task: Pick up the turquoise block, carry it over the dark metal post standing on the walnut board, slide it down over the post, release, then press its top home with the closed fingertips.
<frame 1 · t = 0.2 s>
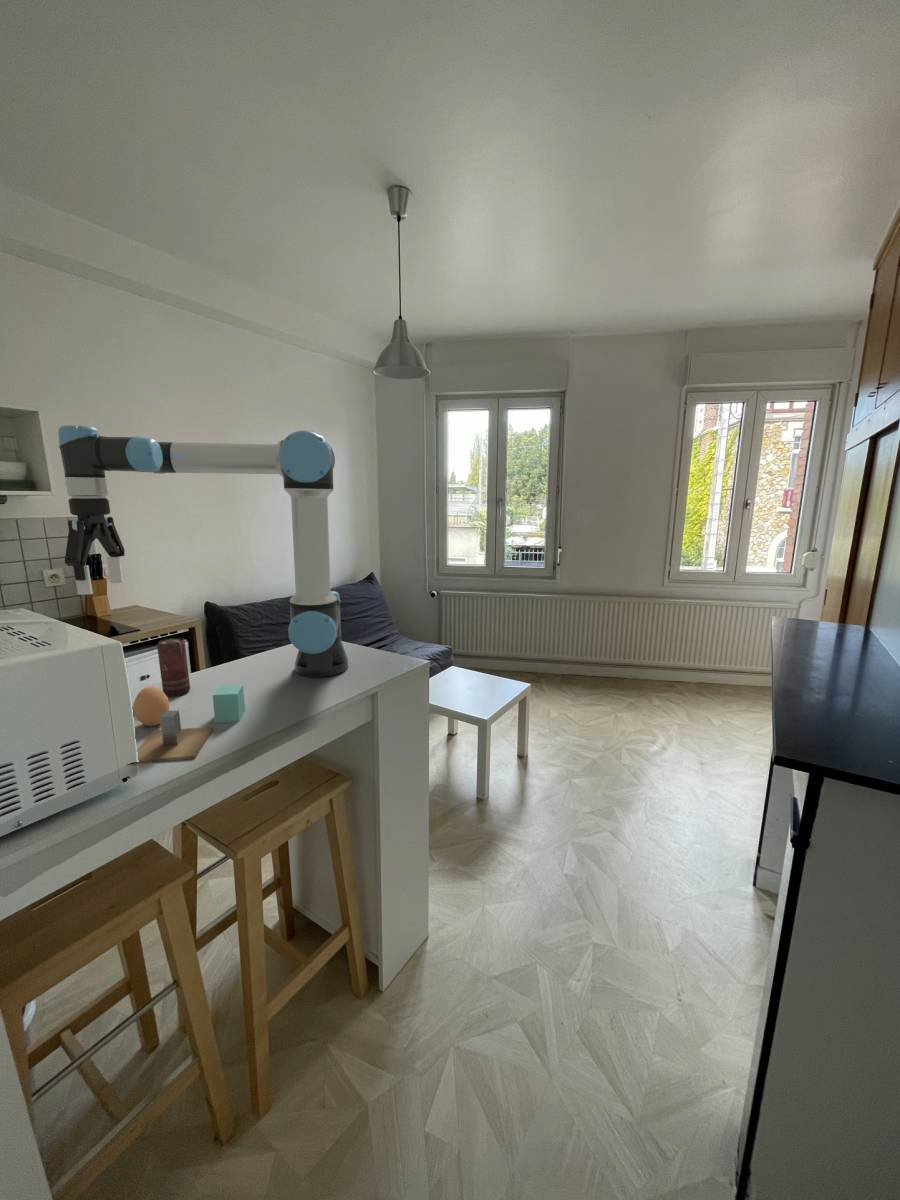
hand: (102, 588, 117), 28 cm above the countertop, fingers open, 13 cm apart
turquoise block: (230, 716, 113), on the countertop
post: (171, 728, 100), on the base board, point 4 cm above the countertop
can: (177, 693, 126), on the countertop
egg: (154, 725, 109), on the countertop
base board: (173, 745, 101), on the countertop
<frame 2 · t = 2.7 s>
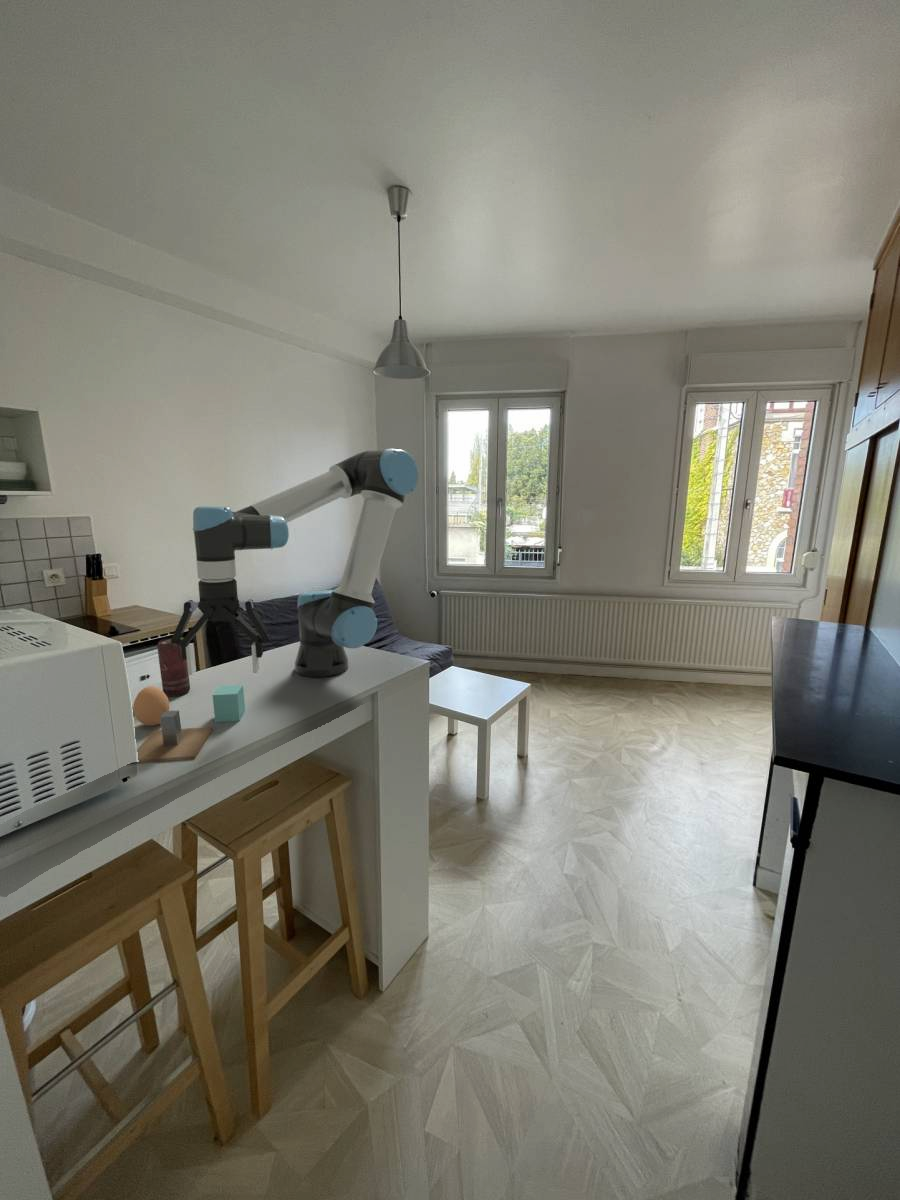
hand: (224, 672, 111), 11 cm above the countertop, fingers open, 13 cm apart
nothing on the countertop moved.
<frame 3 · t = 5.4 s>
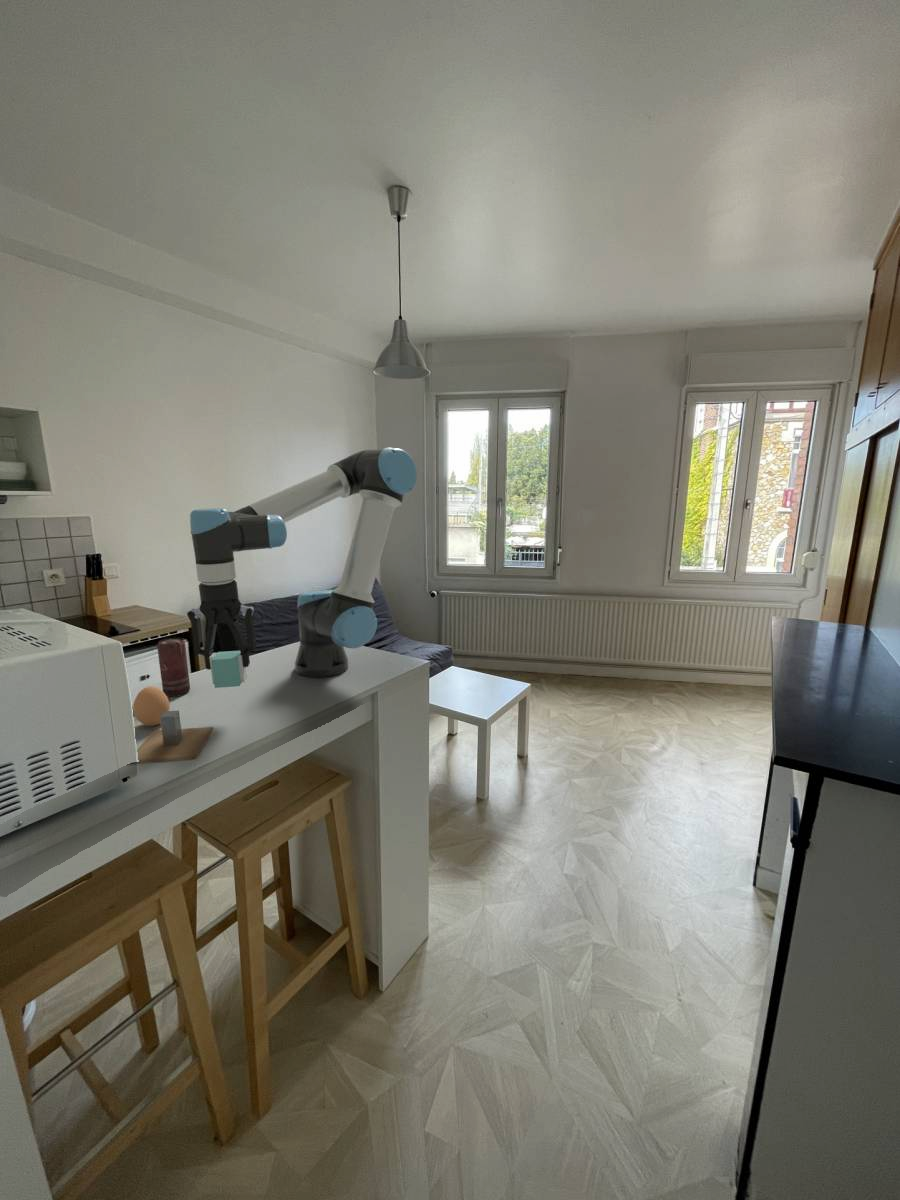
hand: (230, 680, 112), 9 cm above the countertop, fingers closed on turquoise block, 5 cm apart
turquoise block: (230, 682, 112), point 8 cm above the countertop, touching gripper
everything else where it was.
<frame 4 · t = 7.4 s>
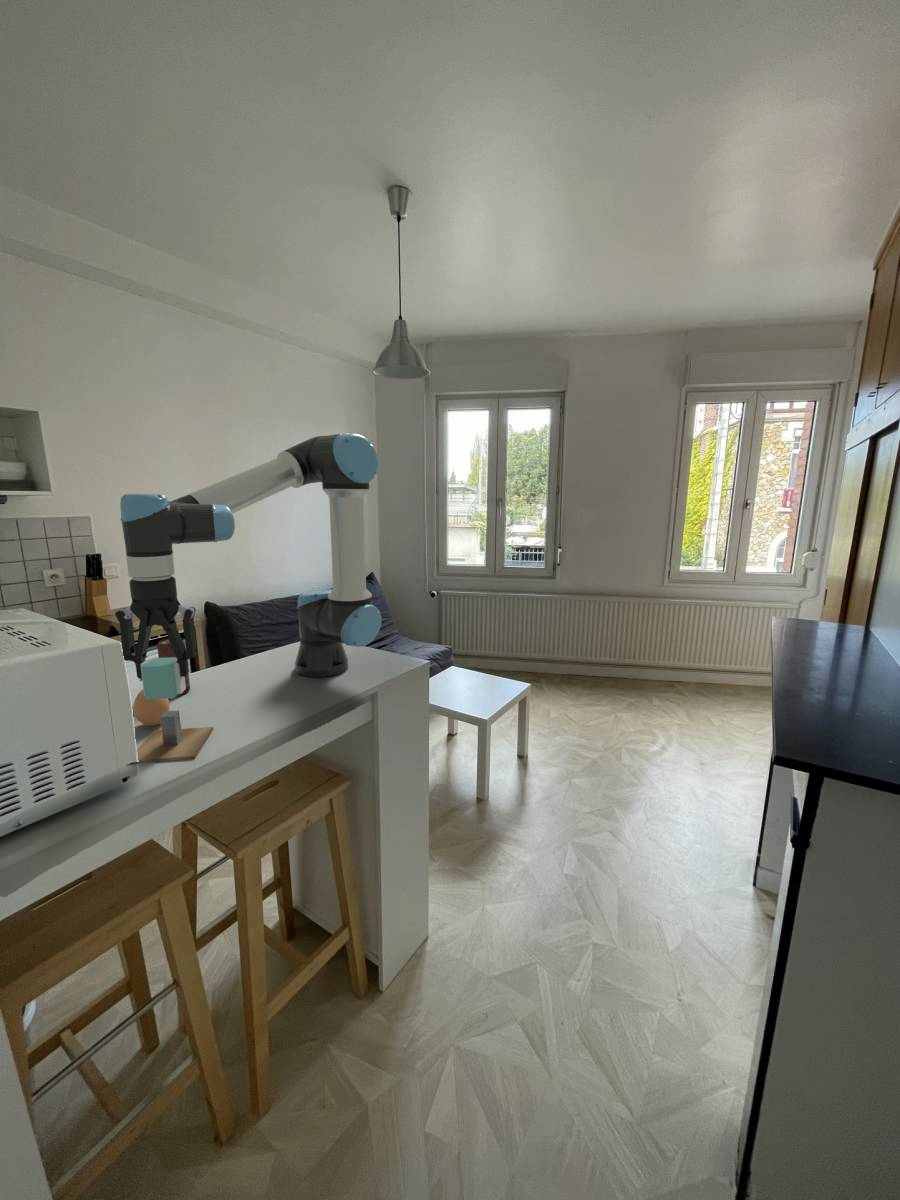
hand: (165, 691, 98), 12 cm above the countertop, fingers closed on turquoise block, 5 cm apart
turquoise block: (165, 693, 98), point 12 cm above the countertop, touching gripper
everything else where it was.
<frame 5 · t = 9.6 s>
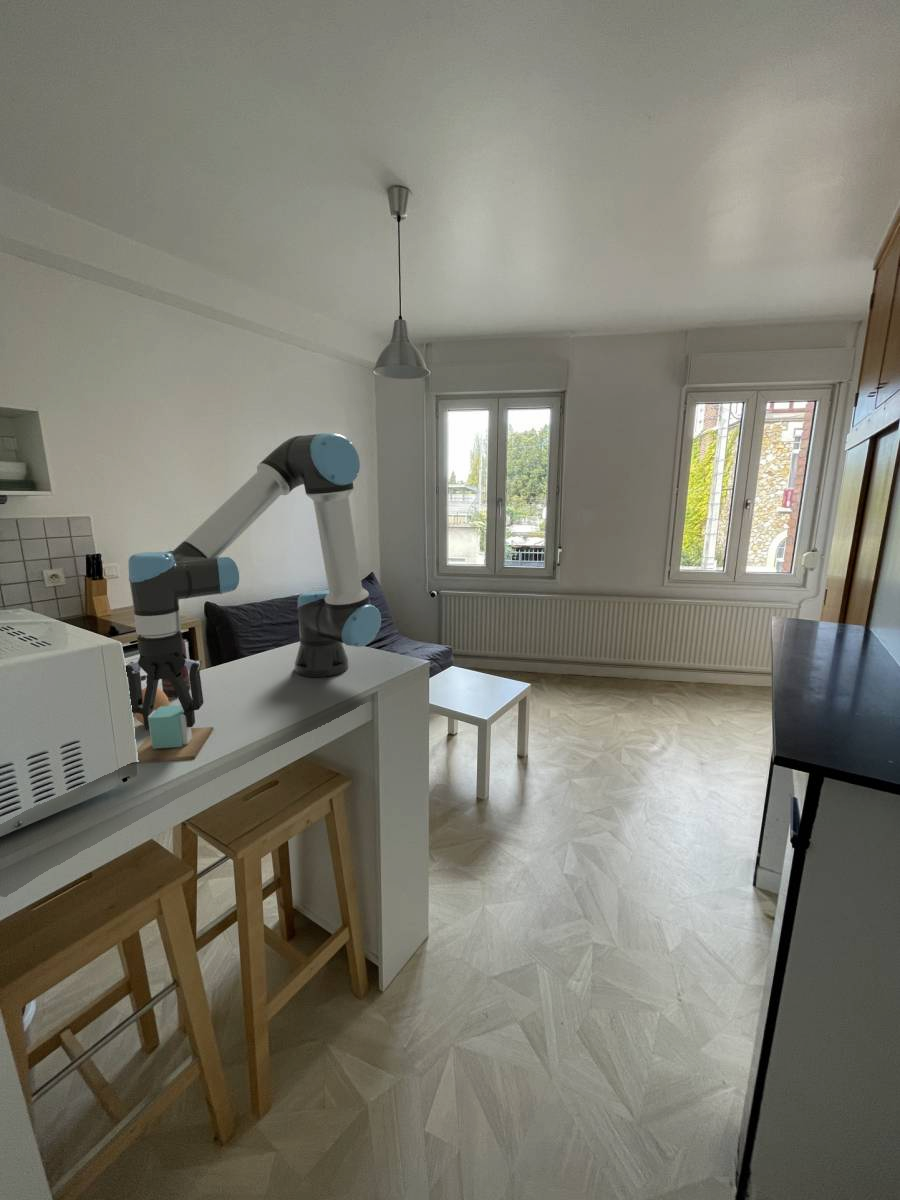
hand: (172, 741, 100), 1 cm above the countertop, fingers closed on turquoise block, 5 cm apart
turquoise block: (172, 741, 100), point 1 cm above the countertop, touching gripper
everything else where it was.
when the fingers open (1 cm above the countertop, at t = 9.7 s): turquoise block stays where it is, resting on post.
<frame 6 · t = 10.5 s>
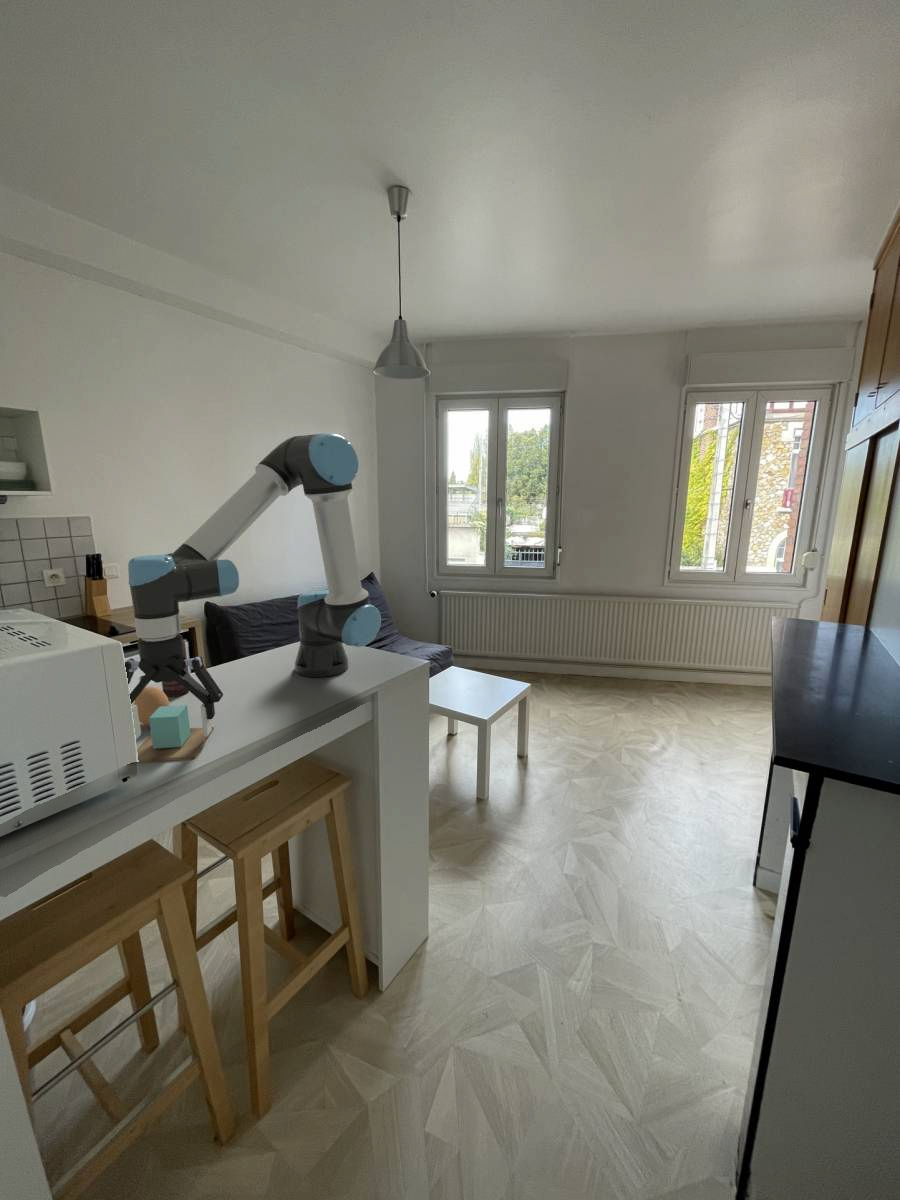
hand: (172, 735, 100), 2 cm above the countertop, fingers open, 13 cm apart
turquoise block: (172, 741, 100), point 1 cm above the countertop, touching post
everything else where it was.
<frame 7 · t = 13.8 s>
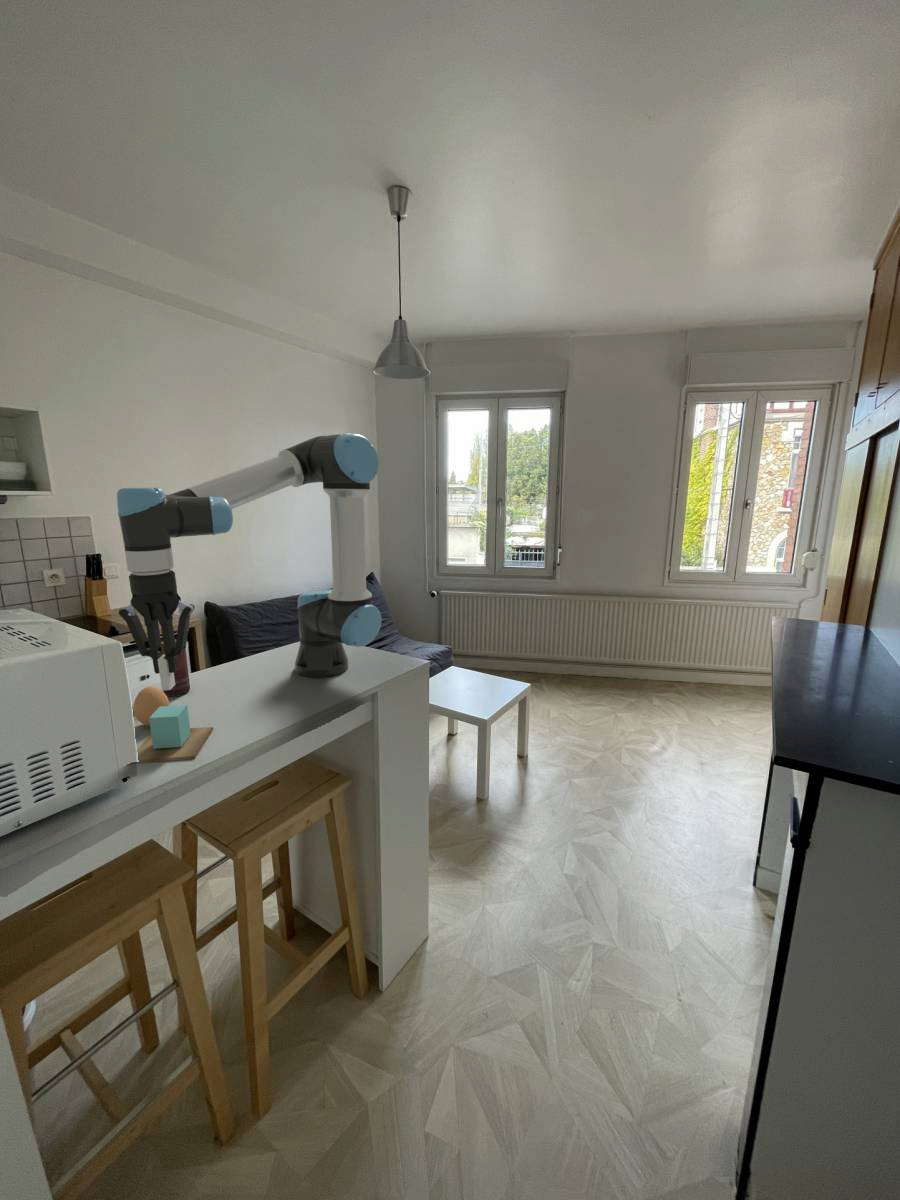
hand: (168, 687, 98), 13 cm above the countertop, fingers closed
nothing on the countertop moved.
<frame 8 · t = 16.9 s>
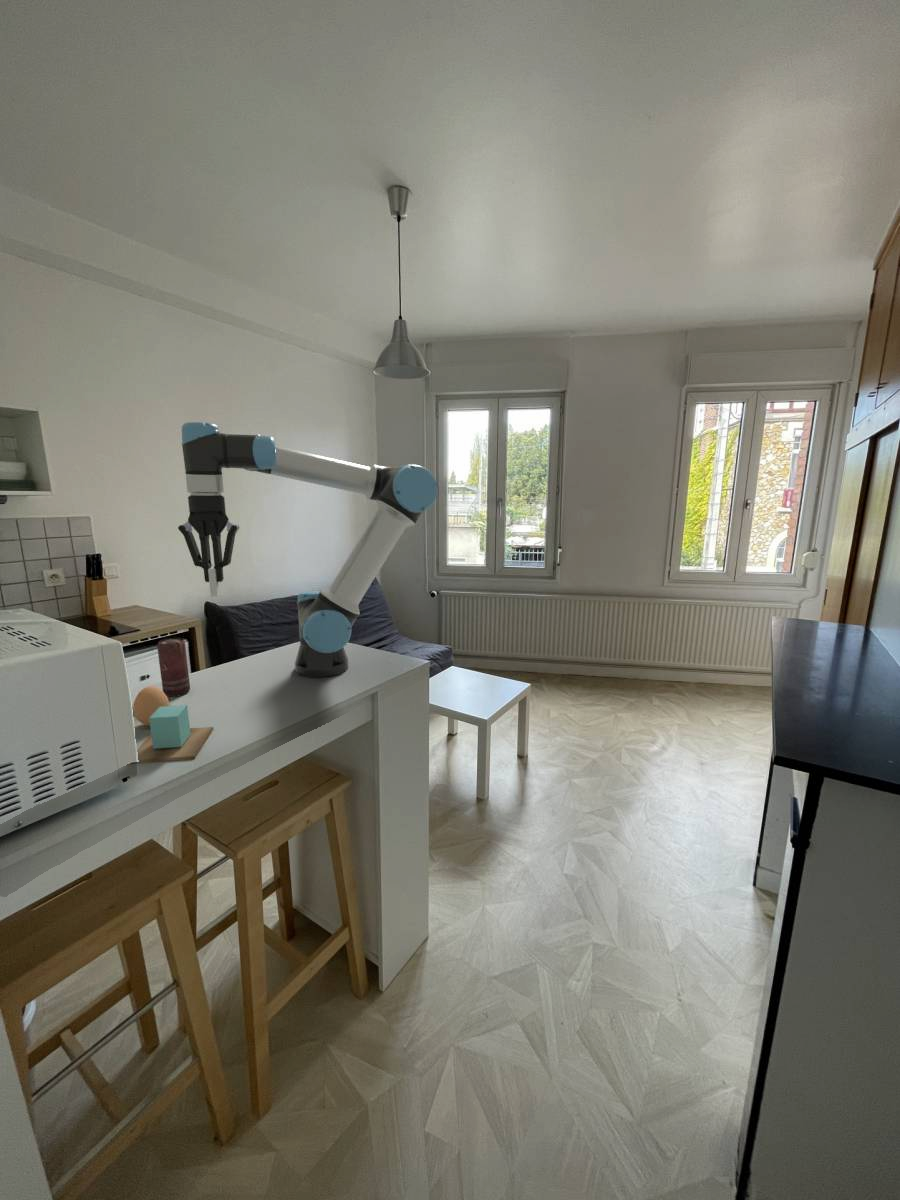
hand: (215, 595, 117), 26 cm above the countertop, fingers closed
nothing on the countertop moved.
at the end: turquoise block 0.1 cm from the post (horizontally); turquoise block point 1.0 cm above the countertop; turquoise block tilted 0° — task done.
